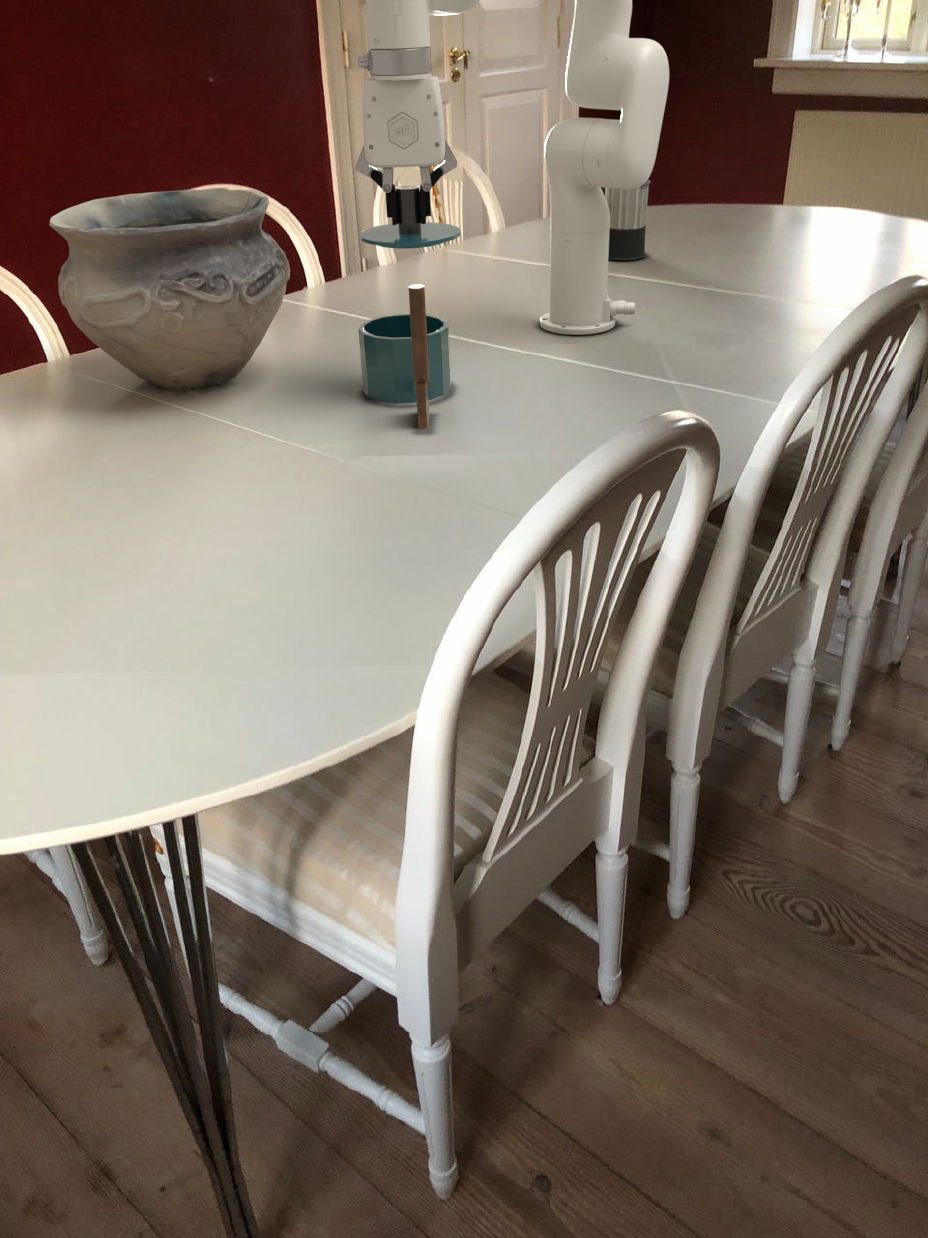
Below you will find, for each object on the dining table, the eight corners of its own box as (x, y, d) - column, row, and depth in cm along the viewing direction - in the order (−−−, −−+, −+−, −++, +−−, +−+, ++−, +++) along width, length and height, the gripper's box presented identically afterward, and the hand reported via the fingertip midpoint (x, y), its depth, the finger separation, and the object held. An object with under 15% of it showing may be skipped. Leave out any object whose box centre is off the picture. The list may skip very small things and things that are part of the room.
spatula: (432, 415, 140) (425, 280, 131) (430, 432, 135) (423, 292, 126) (417, 416, 140) (409, 280, 131) (415, 432, 135) (407, 292, 126)
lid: (461, 228, 143) (459, 177, 140) (460, 249, 132) (458, 194, 128) (364, 231, 143) (360, 180, 140) (355, 253, 132) (351, 198, 128)
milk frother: (653, 253, 217) (657, 178, 210) (621, 270, 206) (624, 190, 199) (592, 248, 224) (594, 174, 216) (558, 263, 213) (559, 186, 205)
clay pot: (193, 432, 138) (158, 236, 125) (34, 395, 153) (-12, 217, 140) (345, 361, 162) (329, 190, 149) (195, 335, 177) (168, 178, 164)
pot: (451, 376, 154) (449, 312, 149) (449, 405, 143) (447, 337, 138) (368, 378, 154) (363, 314, 149) (360, 408, 144) (354, 340, 139)
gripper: (330, 69, 124) (344, 230, 133) (467, 64, 123) (471, 226, 133) (337, 65, 130) (350, 219, 140) (467, 60, 130) (471, 215, 139)
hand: (409, 221), depth 136 cm, fingers closed on lid, 3 cm apart
